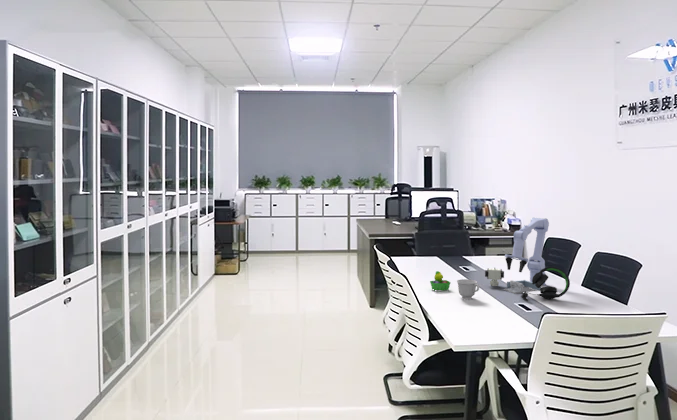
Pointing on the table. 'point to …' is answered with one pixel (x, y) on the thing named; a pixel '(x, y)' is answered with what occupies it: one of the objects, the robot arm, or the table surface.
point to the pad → (527, 289)
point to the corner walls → (526, 284)
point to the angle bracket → (515, 287)
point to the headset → (547, 291)
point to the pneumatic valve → (494, 275)
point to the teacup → (467, 288)
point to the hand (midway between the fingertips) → (514, 271)
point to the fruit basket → (439, 282)
